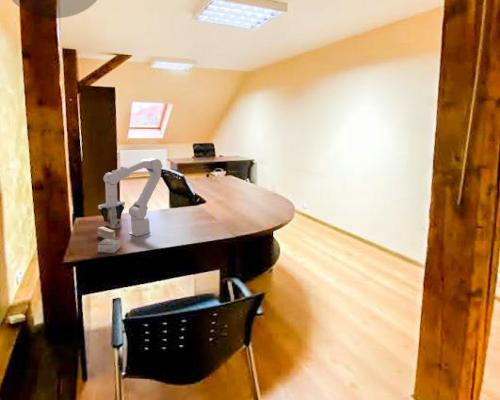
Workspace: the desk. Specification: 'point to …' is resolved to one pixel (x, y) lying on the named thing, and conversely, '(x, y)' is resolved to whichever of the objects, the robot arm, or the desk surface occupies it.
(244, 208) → the desk surface
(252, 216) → the desk surface
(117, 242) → the medicine box
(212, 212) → the desk surface
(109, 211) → the coffee box
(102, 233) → the beige block
